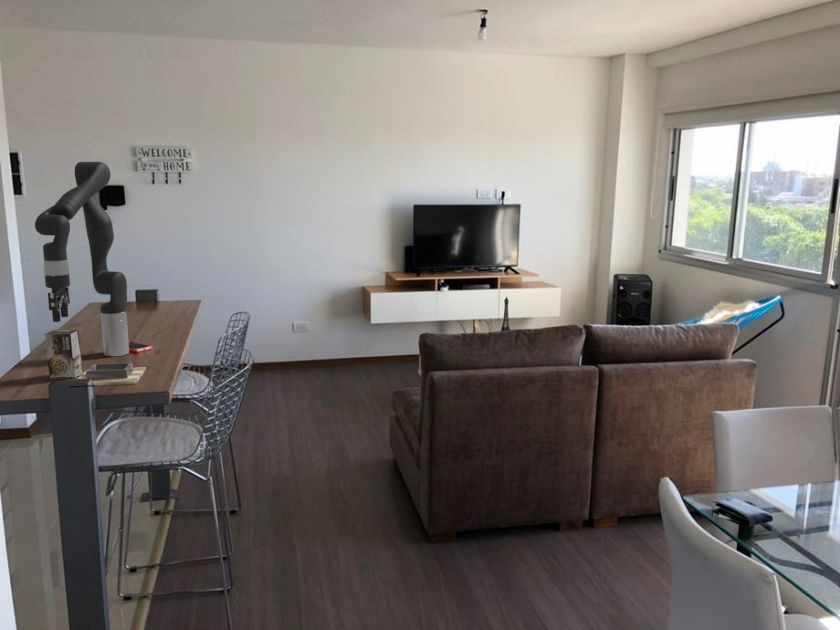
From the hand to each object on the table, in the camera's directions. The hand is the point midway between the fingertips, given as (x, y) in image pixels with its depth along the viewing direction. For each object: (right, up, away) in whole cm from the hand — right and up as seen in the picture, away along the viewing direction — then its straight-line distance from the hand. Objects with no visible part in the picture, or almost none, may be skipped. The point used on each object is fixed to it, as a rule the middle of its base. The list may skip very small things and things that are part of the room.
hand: (60, 319), depth 234 cm
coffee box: (0, -20, +4) cm, 21 cm away
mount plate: (+16, -21, +2) cm, 27 cm away
